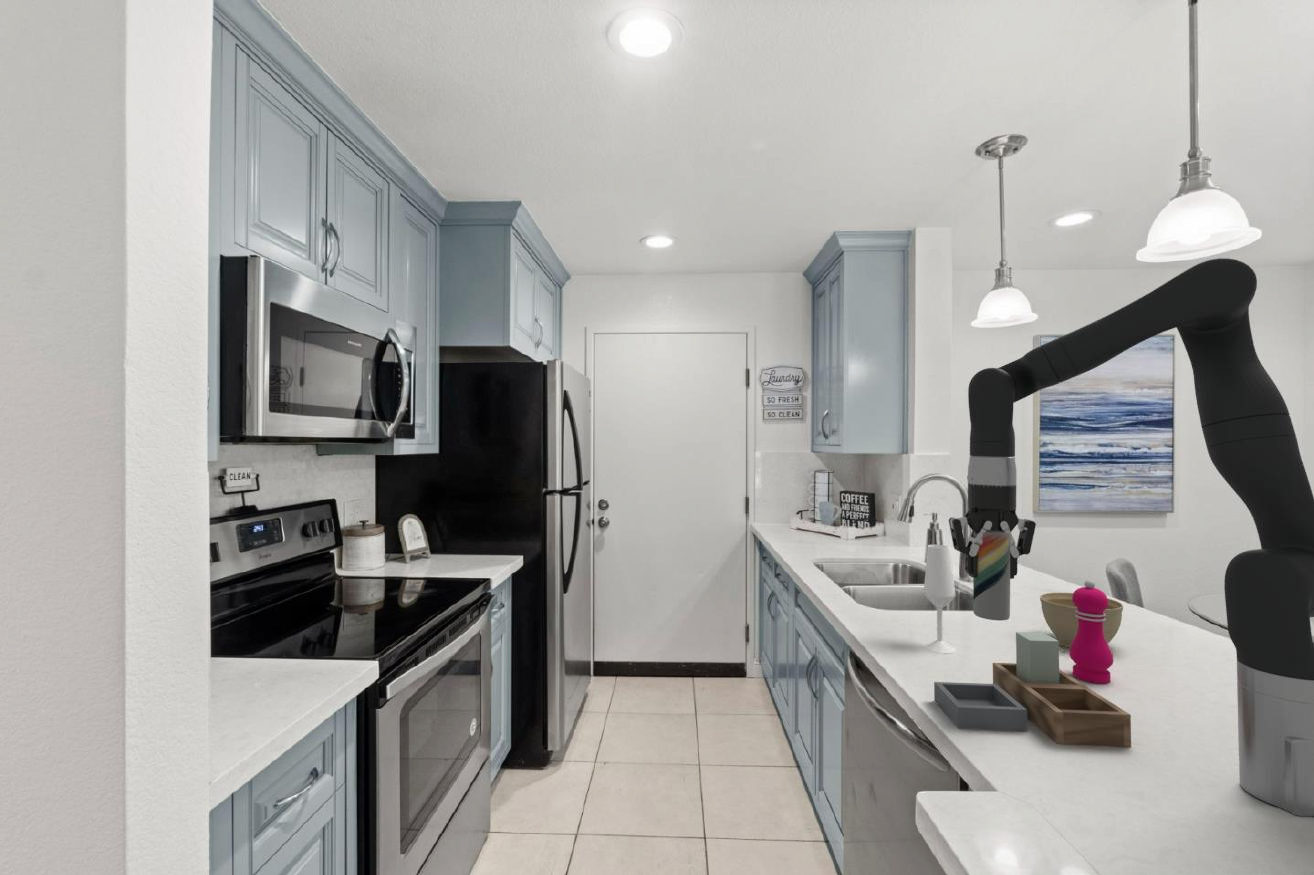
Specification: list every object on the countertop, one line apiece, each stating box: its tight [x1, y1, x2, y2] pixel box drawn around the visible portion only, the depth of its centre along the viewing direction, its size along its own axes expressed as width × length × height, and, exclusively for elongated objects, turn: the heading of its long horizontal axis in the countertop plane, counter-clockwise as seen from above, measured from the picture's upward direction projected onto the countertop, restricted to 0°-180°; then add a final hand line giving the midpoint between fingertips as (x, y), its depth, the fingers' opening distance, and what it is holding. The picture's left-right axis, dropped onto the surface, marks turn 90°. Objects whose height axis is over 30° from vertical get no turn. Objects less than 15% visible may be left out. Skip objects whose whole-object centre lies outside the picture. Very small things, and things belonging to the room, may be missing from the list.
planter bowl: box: [1039, 591, 1124, 649], centre depth 142 cm, size 16×16×11 cm
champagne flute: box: [923, 544, 957, 654], centre depth 140 cm, size 7×7×24 cm
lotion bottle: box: [972, 510, 1011, 621], centre depth 105 cm, size 6×6×20 cm
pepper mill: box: [1069, 579, 1114, 685], centre depth 122 cm, size 7×7×20 cm
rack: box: [992, 662, 1132, 748], centre depth 105 cm, size 22×11×5 cm, turn 174°
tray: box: [933, 681, 1028, 732], centre depth 105 cm, size 11×11×4 cm
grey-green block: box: [1015, 631, 1060, 684], centre depth 111 cm, size 5×5×12 cm
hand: (991, 576), depth 105 cm, fingers closed on lotion bottle, 5 cm apart
